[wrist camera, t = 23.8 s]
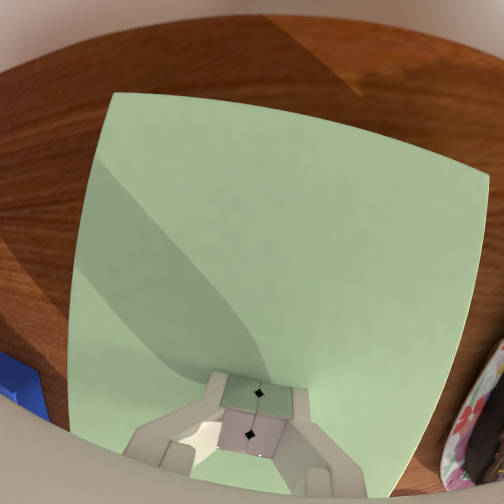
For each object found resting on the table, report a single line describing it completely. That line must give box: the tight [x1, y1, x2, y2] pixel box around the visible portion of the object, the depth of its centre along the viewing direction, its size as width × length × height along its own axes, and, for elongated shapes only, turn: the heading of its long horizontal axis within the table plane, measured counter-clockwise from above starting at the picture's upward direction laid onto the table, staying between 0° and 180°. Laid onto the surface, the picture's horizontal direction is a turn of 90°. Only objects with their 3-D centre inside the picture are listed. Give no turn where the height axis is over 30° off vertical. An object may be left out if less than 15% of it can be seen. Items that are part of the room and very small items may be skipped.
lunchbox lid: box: [67, 93, 489, 498], centre depth 10 cm, size 18×14×1 cm
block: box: [0, 352, 50, 422], centre depth 19 cm, size 8×4×4 cm, turn 169°
